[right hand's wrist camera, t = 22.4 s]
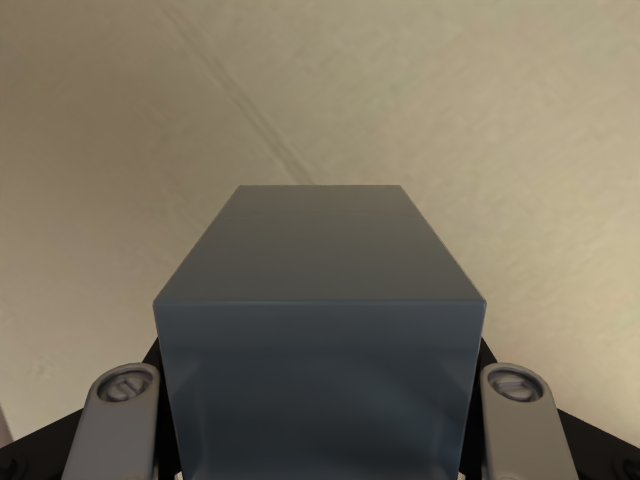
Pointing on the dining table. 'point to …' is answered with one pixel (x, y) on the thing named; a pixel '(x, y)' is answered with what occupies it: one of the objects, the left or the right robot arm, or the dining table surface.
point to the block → (319, 340)
